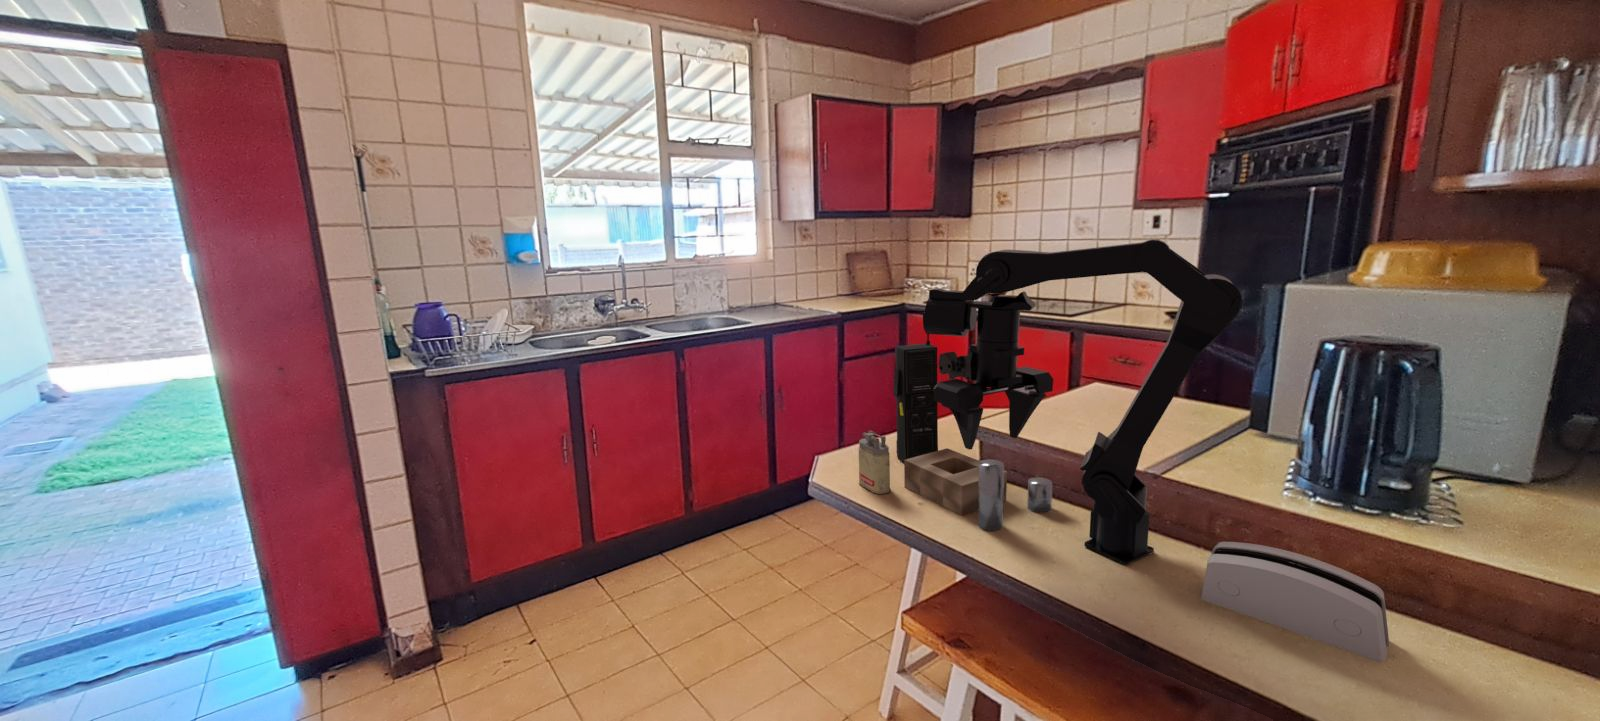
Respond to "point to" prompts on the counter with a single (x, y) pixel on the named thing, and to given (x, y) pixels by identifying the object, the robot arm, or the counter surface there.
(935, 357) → the portable radio
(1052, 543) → the counter surface
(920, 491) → the block
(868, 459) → the lighter
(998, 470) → the tall pin
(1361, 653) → the grey curved block
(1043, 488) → the short pin
